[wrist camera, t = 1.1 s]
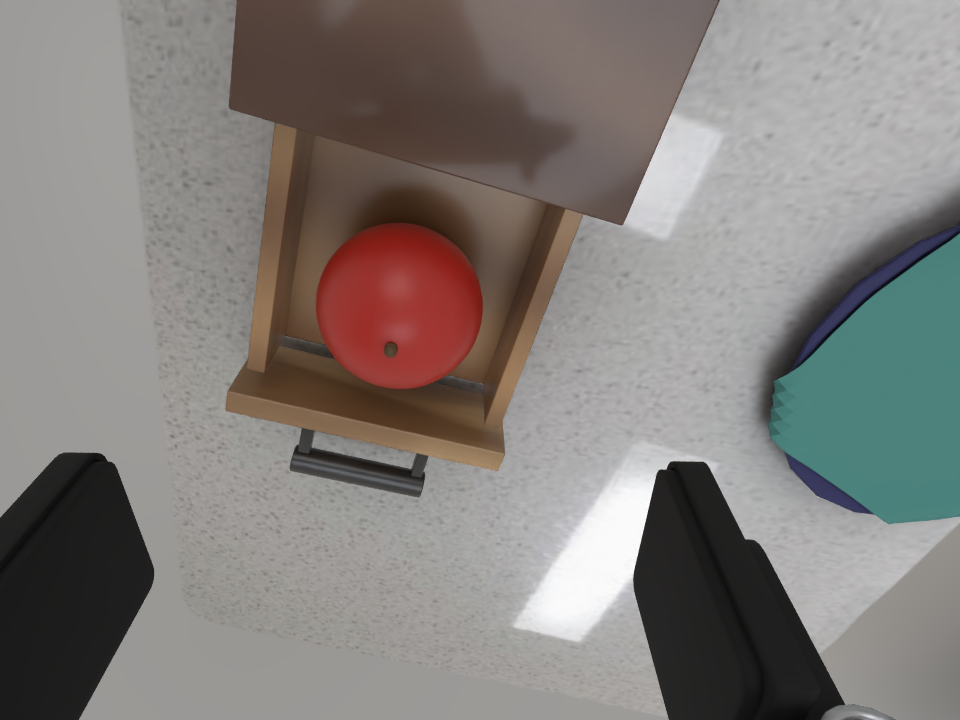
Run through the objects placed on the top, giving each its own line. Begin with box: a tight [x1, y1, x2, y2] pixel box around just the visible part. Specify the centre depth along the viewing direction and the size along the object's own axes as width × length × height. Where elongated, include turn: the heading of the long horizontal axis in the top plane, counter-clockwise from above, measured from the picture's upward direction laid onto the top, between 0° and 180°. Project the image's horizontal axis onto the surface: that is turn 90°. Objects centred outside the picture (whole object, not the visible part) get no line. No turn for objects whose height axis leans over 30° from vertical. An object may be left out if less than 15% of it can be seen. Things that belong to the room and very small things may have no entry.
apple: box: [316, 223, 483, 389], centre depth 25 cm, size 7×7×8 cm
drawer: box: [226, 123, 583, 498], centre depth 28 cm, size 21×13×5 cm, turn 163°
